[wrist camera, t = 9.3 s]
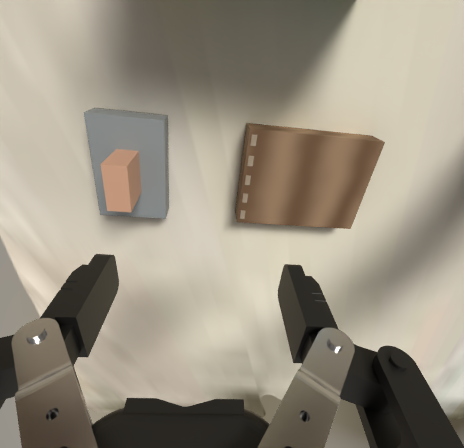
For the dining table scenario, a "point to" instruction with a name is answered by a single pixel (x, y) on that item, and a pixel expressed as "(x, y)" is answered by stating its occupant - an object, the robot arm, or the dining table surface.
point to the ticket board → (304, 176)
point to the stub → (129, 162)
